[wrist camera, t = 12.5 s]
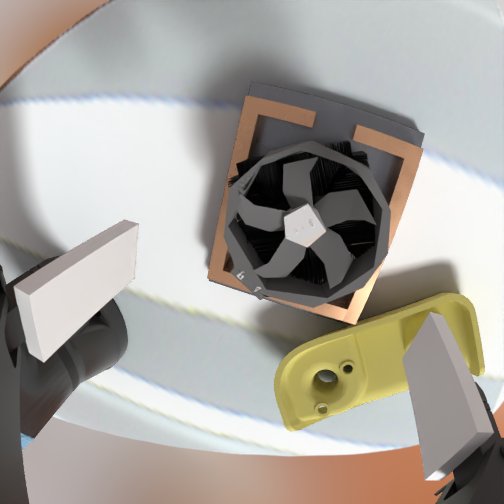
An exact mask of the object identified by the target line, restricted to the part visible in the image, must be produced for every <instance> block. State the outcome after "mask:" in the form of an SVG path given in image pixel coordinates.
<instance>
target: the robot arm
mask: <svg viewBox="0 0 504 504" xmlns="http://www.w3.org/2000/svg"><path fill="white" fill-rule="evenodd" d="M138 228H139V224H137V223H134V222H131V221H128V220H123V221H121V222H119V223H117V224H116V225H114V226H112V227H110V228H108V229H107V230H105V231H103V232H101V233H99V234H98V235H96V236H94V237H92V238H91V239H89V240H87V241H86V242H84V243H82V244H80V245H79V246H77V247H75V248H74V249H72V250H70V251H69V252H67V253H65V254H64V255H62V256H60V257H59V256H57V257H53V258H50V259H47V260H45V261H43V262H42V263H40V264H38V265H37V267H33V268H32V269H30V271H27V272H25V273H24V274H22V275H21V276H19V277H18V278H16V279H14V280H13V281H11V282H10V283H8V284H6V281H5V278H4V275H3V270H2V266H1V265H0V504H29V499H28V494H27V488H26V481H25V474H24V466H23V457H22V450H23V449H24V448H25V447H26V446H27V445H28V444H29V442H32V441H33V440H34V438H35V437H36V436H37V434H38V433H39V432H40V431H41V429H42V428H43V427H44V426H45V424H46V423H47V422H48V421H49V420H50V418H51V417H52V416H53V415H54V414H55V412H56V411H57V410H58V409H59V408H60V406H61V405H62V404H63V403H64V402H65V400H66V399H67V398H68V397H69V396H70V394H71V393H72V392H73V391H74V390H75V389H76V387H77V386H78V385H79V384H80V383H82V382H84V381H86V380H88V379H90V378H92V377H94V376H95V375H97V374H99V373H101V372H103V371H104V370H107V369H110V368H111V367H113V366H114V365H115V364H116V363H117V362H118V360H119V359H120V358H121V357H122V356H123V355H124V353H125V351H126V348H127V343H128V337H127V330H126V326H125V323H124V320H123V318H122V315H121V313H120V311H119V309H118V308H117V306H116V304H115V303H114V301H113V300H112V298H113V297H114V296H115V295H116V294H117V293H119V292H120V291H121V290H122V289H123V288H124V287H125V286H126V285H128V284H129V283H130V282H131V281H132V280H133V279H134V278H135V268H136V253H137V240H138ZM402 361H403V365H404V370H405V374H406V378H407V382H408V387H409V391H410V396H411V401H412V405H413V410H414V415H415V421H416V426H417V431H418V437H419V443H420V448H421V456H422V462H423V470H424V477H425V480H442V479H444V478H445V477H446V476H447V475H449V474H450V473H451V472H452V471H453V474H454V479H453V480H452V481H450V482H449V483H448V484H446V485H445V486H444V487H442V488H441V489H440V490H438V491H437V492H436V493H435V495H436V496H437V495H438V494H440V493H441V492H443V493H442V494H441V496H440V498H439V499H438V501H437V502H436V504H504V438H501V436H500V433H499V431H498V428H497V425H496V422H495V420H494V417H493V414H492V412H491V411H490V410H491V409H490V407H489V404H488V403H487V399H486V397H485V394H484V392H483V390H482V389H481V388H480V387H479V385H478V384H477V383H476V382H474V379H473V377H472V375H471V373H470V370H469V368H468V366H467V364H466V361H465V359H464V357H463V355H462V353H461V351H460V348H459V346H458V344H457V342H456V340H455V338H454V336H453V334H452V332H451V330H450V328H449V326H448V324H447V322H446V320H445V318H444V316H443V315H440V314H436V313H433V312H429V314H428V315H427V317H426V319H425V321H424V323H423V324H422V326H421V328H420V330H419V332H418V333H417V335H416V337H415V338H414V340H413V342H412V343H411V345H410V347H409V348H408V350H407V352H406V353H405V355H404V357H403V358H402Z"/></svg>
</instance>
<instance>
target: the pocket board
mask: <svg viewBox="0 0 504 504" xmlns="http://www.w3.org/2000/svg"><path fill="white" fill-rule="evenodd" d="M424 134H425V133H422V132H420V131H417V130H415V129H412V128H410V127H407V126H405V125H402V124H400V123H397V122H394V121H392V120H389V119H386V118H384V117H381V116H378V115H375V114H372V113H369V112H366V111H363V110H360V109H357V108H354V107H351V106H348V105H345V104H341V103H338V102H335V101H331V100H328V99H324V98H320V97H317V96H313V95H309V94H305V93H301V92H297V91H293V90H289V89H285V88H280V87H276V86H271V85H267V84H262V83H257V82H251V86H250V90H249V94H248V96H246V97H245V101H244V105H243V110H242V114H241V118H240V122H239V127H238V131H237V135H236V140H235V144H234V149H233V153H232V158H231V162H230V167H229V172H228V176H227V179H228V180H227V181H226V186H225V190H224V195H223V200H222V205H221V210H220V215H219V219H218V224H217V229H216V235H215V240H214V245H213V250H212V255H211V260H210V266H209V271H208V277H207V278H208V279H209V281H211V282H214V283H217V284H220V285H223V286H226V287H229V288H232V289H235V290H238V291H242V292H245V293H248V294H251V295H254V294H253V293H252V292H251V291H250V290H248V289H247V288H246V287H245V286H244V285H243V284H242V283H241V282H240V281H239V280H238V279H237V278H235V277H234V276H233V275H232V274H231V271H232V269H233V267H234V264H233V260H232V257H231V255H230V252H229V249H228V247H227V244H226V242H225V239H224V228H225V219H226V210H227V202H228V193H229V188H230V187H229V188H228V186H230V185H228V184H229V183H227V182H228V181H230V180H232V179H229V178H231V177H234V176H236V175H238V171H237V167H236V163H239V162H241V161H244V160H246V159H252V158H256V157H259V156H264V155H267V154H268V153H269V152H270V151H273V150H276V149H280V148H283V147H287V146H290V145H294V144H298V143H302V142H305V141H309V140H312V141H314V142H316V143H319V144H321V145H324V146H325V144H327V147H328V146H329V148H330V143H331V147H332V143H333V145H334V142H335V145H336V150H337V152H338V148H337V143H338V145H339V142H340V141H341V142H342V141H346V140H348V141H350V143H351V149H352V152H357V151H363V152H365V153H367V156H368V157H367V158H368V160H367V161H368V163H369V168H370V171H371V173H372V174H373V176H374V178H375V180H376V182H377V184H378V186H379V188H380V190H381V192H382V194H383V196H384V198H385V200H386V202H387V204H388V206H389V208H390V210H391V219H390V233H389V245H388V250H389V247H390V245H391V242H392V240H393V237H394V235H395V232H396V229H397V227H398V224H399V221H400V219H401V216H402V213H403V210H404V208H405V205H406V202H407V199H408V196H409V193H410V190H411V187H412V184H413V181H414V178H415V175H416V172H417V169H418V166H419V162H420V159H421V156H422V152H423V149H422V148H421V145H422V141H423V138H424ZM336 142H337V143H336ZM342 145H343V143H342ZM330 149H331V148H330ZM343 149H344V148H343ZM332 150H333V147H332ZM334 150H335V146H334ZM339 150H340V146H339ZM323 161H324V160H323ZM325 162H326V158H325ZM327 162H328V159H327ZM334 162H335V161H334ZM330 164H331V160H330ZM332 164H333V169H334V174H335V168H334V163H333V161H332ZM332 164H331V169H332ZM337 165H338V162H337ZM324 166H325V165H324ZM328 166H329V162H328ZM326 167H327V163H326ZM335 167H336V162H335ZM338 168H339V166H338ZM325 171H326V169H325ZM327 171H328V169H327ZM329 171H330V166H329ZM336 171H337V167H336ZM343 171H345V170H343ZM332 174H333V170H332ZM330 175H331V171H330ZM326 176H327V174H326ZM328 176H329V175H328ZM333 176H334V175H333ZM339 176H340V175H339ZM331 178H332V176H331ZM327 181H328V180H327ZM231 185H232V184H231ZM325 187H326V186H325ZM235 218H236V216H235ZM236 220H237V218H236ZM237 221H238V220H237ZM349 253H350V252H349ZM350 255H351V254H350ZM352 259H353V254H352ZM354 259H355V256H354ZM384 260H385V259H384ZM384 260H383V261H382V264H381V265H380V266H379V267H378V269H377V270H376V271H375V273H374V274H373V276H372V277H371V278H370V280H369V281H368V282H367V284H366V285H365V286H364V288H362V289H359V290H357V291H355V292H352V293H350V294H347V295H345V296H342V297H340V298H337V299H335V300H332V301H330V302H327V303H325V304H322V305H319V306H317V307H314V308H312V307H308V306H304V305H300V304H296V303H292V302H288V301H284V300H280V299H276V298H273V297H264V298H263V299H266V300H269V301H273V302H276V303H279V304H282V305H285V306H289V307H292V308H295V309H298V310H301V311H305V312H308V313H311V314H315V315H318V316H321V317H325V318H328V319H331V320H335V321H338V322H342V323H345V324H348V325H351V324H356V322H357V320H358V318H359V316H360V314H361V312H362V310H363V307H364V305H365V303H366V301H367V299H368V297H369V294H370V292H371V290H372V288H373V285H374V283H375V281H376V279H377V276H378V274H379V272H380V269H381V267H382V265H383V262H384ZM318 283H319V281H318ZM254 296H255V295H254Z"/></svg>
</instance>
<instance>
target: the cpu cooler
mask: <svg viewBox="0 0 504 504" xmlns="http://www.w3.org/2000/svg"><path fill="white" fill-rule="evenodd" d="M336 143H337V142H336ZM342 143H343V145H342ZM334 146H335V150H334ZM339 146H340V150H339ZM332 147H333V150H332ZM332 147H331V143H330V148H331V149H330V148H329V146H328V147H327V144H325V146H324V145H321V144H319V143H316V142H314V141H312V140H309V141H305V142H302V143H298V144H294V145H290V146H287V147H283V148H280V149H276V150H273V151H270V152H269V153H268V154H267V155H264V156H259V157H256V158H252V159H246V160H244V161H241V162H239V163H236V167H237V171H238V175H236V176H234V177H231V178H229V179H232V180H230V181H228V182H227V183H229V184H228V185H230V186H228V188H229V187H230V188H229V193H228V202H227V210H226V219H225V228H224V239H225V242H226V244H227V247H228V249H229V252H230V255H231V257H232V260H233V264H234V267H233V269H232V271H231V274H232V275H233V276H234V277H235V278H237V279H238V280H239V281H240V282H241V283H242V284H243V285H244V286H245V287H246V288H247V289H248V290H250V291H251V292H252V293H253V294H254V295H255V296H256V297H257V298H258V299H259V300H261V299H263V298H264V297H273V298H276V299H280V300H284V301H288V302H292V303H296V304H300V305H304V306H308V307H312V308H314V307H317V306H319V305H322V304H325V303H327V302H330V301H332V300H335V299H337V298H340V297H342V296H345V295H347V294H350V293H352V292H355V291H357V290H359V289H362V288H364V286H365V285H366V284H367V282H368V281H369V280H370V278H371V277H372V276H373V274H374V273H375V271H376V270H377V269H378V267H379V266H380V265H381V264H382V261H383V260H384V259H385V257H386V256H387V254H388V245H389V233H390V219H391V210H390V208H389V206H388V204H387V202H386V200H385V198H384V196H383V194H382V192H381V190H380V188H379V186H378V184H377V182H376V180H375V178H374V176H373V174H372V173H371V171H370V168H369V163H368V161H367V160H368V158H367V157H368V156H367V153H365V152H363V151H357V152H352V149H351V143H350V141H348V140H346V141H342V142H341V141H340V142H339V145H338V143H337V148H338V152H337V150H336V145H335V142H334V145H333V143H332ZM343 148H344V149H343ZM325 158H326V162H325ZM327 159H328V162H329V166H330V171H331V175H330V171H329V166H328V162H327ZM323 160H324V161H323ZM330 160H331V164H332V161H333V163H334V168H335V174H334V169H333V164H332V169H331V164H330ZM334 161H335V162H336V167H337V171H336V167H335V162H334ZM337 162H338V165H337ZM326 163H327V167H326ZM324 165H325V166H324ZM338 166H339V168H338ZM325 169H326V171H325ZM327 169H328V171H327ZM332 170H333V174H332ZM343 170H345V171H343ZM326 174H327V176H326ZM328 175H329V176H328ZM333 175H334V176H333ZM339 175H340V176H339ZM331 176H332V178H331ZM227 180H228V179H227ZM327 180H328V181H327ZM231 184H232V185H231ZM325 186H326V187H325ZM235 216H236V218H237V220H238V221H237V220H236V218H235ZM349 252H350V253H349ZM350 254H351V255H350ZM352 254H353V259H352ZM354 256H355V259H354ZM318 281H319V283H318Z"/></svg>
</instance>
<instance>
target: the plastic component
mask: <svg viewBox="0 0 504 504" xmlns="http://www.w3.org/2000/svg"><path fill="white" fill-rule="evenodd" d="M429 312H433V313H436V314H440V315H443V316H444V318H445V320H446V322H447V324H448V326H449V328H450V330H451V332H452V334H453V336H454V338H455V340H456V342H457V344H458V346H459V348H460V351H461V353H462V355H463V357H464V359H465V361H466V364H467V366H468V368H469V370H470V373H471V374H473V375H475V376H480V375H482V374H484V372H485V365H484V358H483V351H482V344H481V338H480V333H479V327H478V322H477V317H476V312H475V309H474V306H473V304H472V303H471V302H470V300H469V299H468V298H466V297H465V296H463V295H460V294H456V293H449V292H444V293H439V294H437V295H434V296H432V297H429V298H426V299H423V300H421V301H418V302H415V303H412V304H410V305H407V306H404V307H401V308H398V309H395V310H392V311H389V312H386V313H383V314H380V315H377V316H374V317H371V318H368V319H365V320H362V321H358V322H356V324H351V325H350V326H348V327H345V328H342V329H338V330H335V331H332V332H329V333H327V334H324V335H322V336H320V337H318V338H315V339H313V340H310V341H308V342H306V343H304V344H302V345H300V346H298V347H297V348H295V349H294V350H292V351H291V352H290V353H289V354H288V355H286V356H285V357H284V359H283V360H282V362H281V363H280V365H279V367H278V369H277V371H276V374H275V379H274V391H275V397H276V400H277V404H278V407H279V410H280V413H281V416H282V419H283V422H284V425H285V427H286V429H287V430H289V431H297V430H301V429H303V428H305V427H307V426H309V425H311V424H314V423H316V422H318V421H320V420H323V419H325V418H327V417H330V416H332V415H335V414H339V413H342V412H345V411H347V410H349V409H351V408H353V407H356V406H359V405H362V404H364V403H367V402H370V401H373V400H377V399H380V398H384V397H387V396H390V395H394V394H397V393H400V392H403V391H406V390H409V387H408V382H407V378H406V374H405V370H404V365H403V361H402V358H403V357H404V355H405V353H406V352H407V350H408V348H409V347H410V345H411V343H412V342H413V340H414V338H415V337H416V335H417V333H418V332H419V330H420V328H421V326H422V324H423V323H424V321H425V319H426V317H427V315H428V314H429ZM345 365H351V366H352V367H353V369H352V371H350V372H345V371H344V369H343V367H344V366H345ZM324 369H327V370H331V371H333V372H334V373H335V374H336V375H337V377H338V378H337V379H336V380H335V381H332V382H324V381H322V380H321V379H320V378H319V377H318V374H317V372H318V371H320V370H324ZM320 406H326V407H322V408H319V407H320Z"/></svg>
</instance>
